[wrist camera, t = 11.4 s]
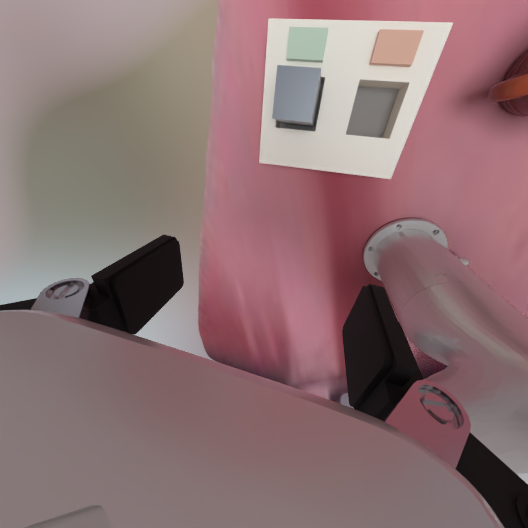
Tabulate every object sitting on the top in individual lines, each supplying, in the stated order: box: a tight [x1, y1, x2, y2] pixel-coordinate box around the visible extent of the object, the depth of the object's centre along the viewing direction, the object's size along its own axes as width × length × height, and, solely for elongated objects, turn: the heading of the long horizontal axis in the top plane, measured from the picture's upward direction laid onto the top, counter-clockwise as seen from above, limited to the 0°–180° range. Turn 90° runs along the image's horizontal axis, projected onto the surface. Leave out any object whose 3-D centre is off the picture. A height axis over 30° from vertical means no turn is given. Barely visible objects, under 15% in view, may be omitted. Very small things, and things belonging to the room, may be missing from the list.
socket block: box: [259, 19, 453, 179], centre depth 26 cm, size 18×14×6 cm
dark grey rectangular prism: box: [272, 65, 321, 127], centre depth 24 cm, size 4×4×10 cm
